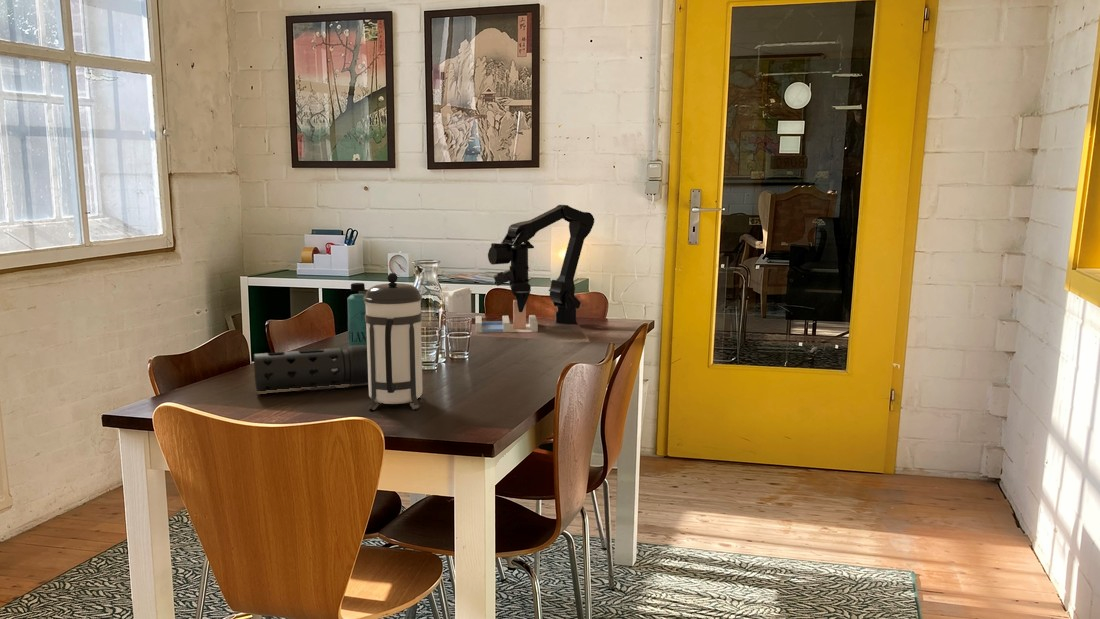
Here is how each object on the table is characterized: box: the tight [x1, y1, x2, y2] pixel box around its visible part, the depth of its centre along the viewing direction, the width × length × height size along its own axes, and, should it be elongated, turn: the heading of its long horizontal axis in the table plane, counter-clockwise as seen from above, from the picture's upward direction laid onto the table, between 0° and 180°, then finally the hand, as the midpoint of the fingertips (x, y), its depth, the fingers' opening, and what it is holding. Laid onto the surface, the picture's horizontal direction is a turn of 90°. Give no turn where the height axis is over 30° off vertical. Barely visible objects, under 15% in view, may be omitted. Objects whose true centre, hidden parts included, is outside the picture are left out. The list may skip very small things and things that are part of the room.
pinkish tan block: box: [512, 299, 527, 329], centre depth 283 cm, size 4×4×9 cm
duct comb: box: [475, 314, 539, 334], centre depth 283 cm, size 20×14×4 cm
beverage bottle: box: [346, 282, 367, 347], centre depth 252 cm, size 6×7×20 cm
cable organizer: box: [440, 285, 472, 314], centre depth 301 cm, size 15×11×12 cm
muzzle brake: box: [253, 345, 368, 391], centre depth 207 cm, size 10×28×10 cm, turn 111°
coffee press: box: [364, 272, 424, 406], centre depth 191 cm, size 17×16×30 cm
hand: (519, 309), depth 283 cm, fingers open, 9 cm apart
